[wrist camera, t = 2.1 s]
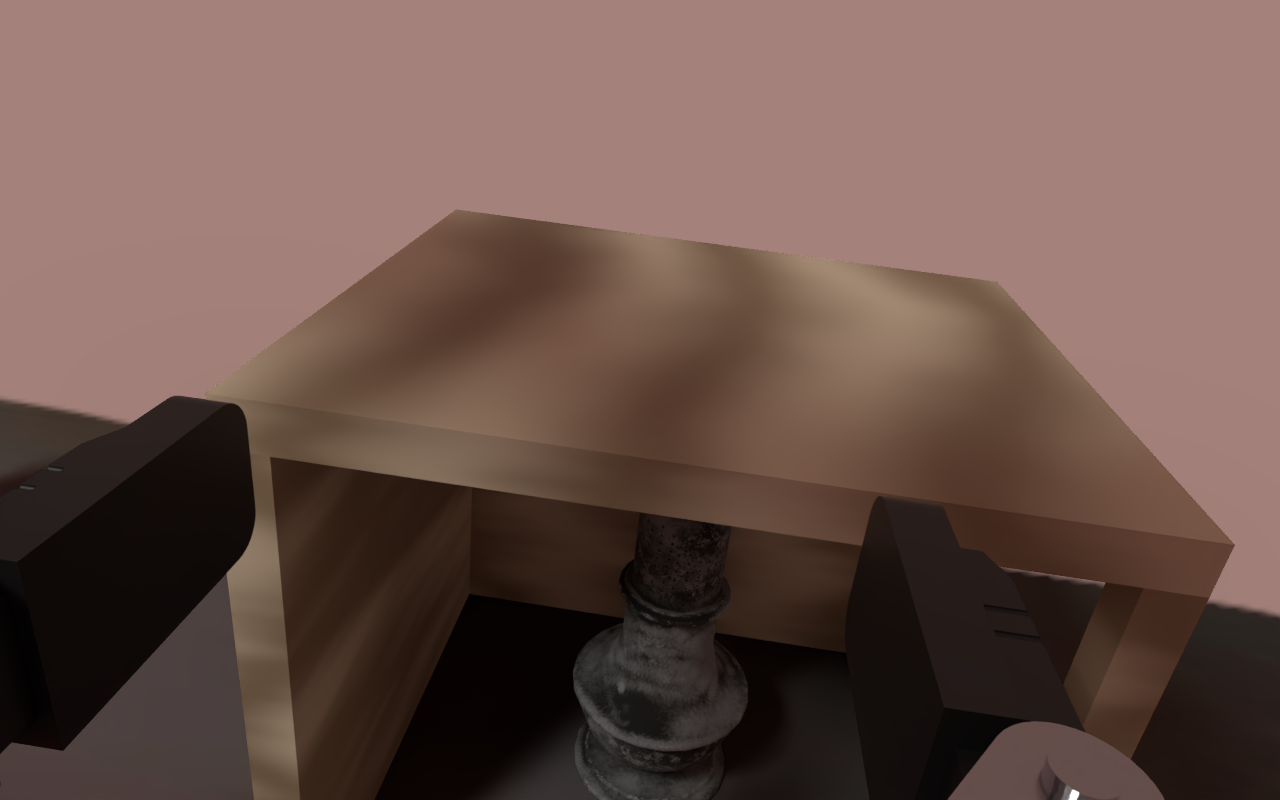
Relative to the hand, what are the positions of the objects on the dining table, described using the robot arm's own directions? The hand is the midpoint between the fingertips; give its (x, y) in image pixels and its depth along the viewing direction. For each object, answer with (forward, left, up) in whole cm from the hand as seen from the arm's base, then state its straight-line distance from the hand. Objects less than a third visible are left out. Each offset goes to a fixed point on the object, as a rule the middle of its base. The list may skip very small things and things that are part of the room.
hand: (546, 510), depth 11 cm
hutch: (+2, +13, -18) cm, 22 cm away
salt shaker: (+2, +13, -18) cm, 22 cm away
